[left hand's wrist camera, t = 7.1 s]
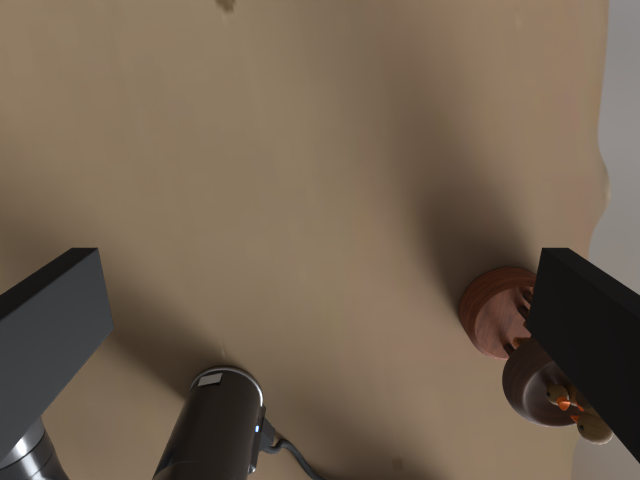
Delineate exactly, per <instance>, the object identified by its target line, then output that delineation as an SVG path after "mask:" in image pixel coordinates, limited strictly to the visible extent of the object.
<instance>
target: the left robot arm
mask: <svg viewBox="0 0 640 480" xmlns="http://www.w3.org/2000/svg"><path fill="white" fill-rule="evenodd" d="M113 329H114V326H113V321H112V316H111V311H110V306H109V301H108V296H107V291H106V286H105V281H104V276H103V271H102V266H101V261H100V256H99V251H98V248H71V249H69V250H68V251H66V252H65V253H63V254H62V255H60V256H59V257H57V258H56V259H54V260H53V261H51V262H50V263H48V264H47V265H45V266H44V267H42V268H41V269H39V270H38V271H36V272H35V273H33V274H32V275H30V276H29V277H27V278H26V279H24V280H23V281H21V282H20V283H18V284H17V285H15V286H14V287H12V288H11V289H9V290H8V291H6V292H5V293H3V294H2V295H0V463H1V462H2V461H3V460H4V459H5V457H6V456H7V455H8V454H9V453H10V451H11V450H12V449H13V448H14V447H15V446H16V444H17V443H18V442H19V441H20V440H21V438H22V437H23V436H24V435H25V434H26V432H27V431H28V430H29V429H30V428H31V426H32V425H33V424H34V423H35V422H36V421H37V419H38V418H39V417H40V416H41V415H42V413H43V412H44V411H45V410H46V409H47V407H48V406H49V405H50V404H51V403H52V401H53V400H54V399H55V398H56V397H57V396H58V394H59V393H60V392H61V391H62V390H63V388H64V387H65V386H66V385H67V384H68V382H69V381H70V380H71V379H72V378H73V376H74V375H75V374H76V373H77V372H78V371H79V369H80V368H81V367H82V366H83V365H84V363H85V362H86V361H87V360H88V359H89V357H90V356H91V355H92V354H93V353H94V352H95V350H96V349H97V348H98V347H99V346H100V344H101V343H102V342H103V341H104V340H105V338H106V337H107V336H108V335H109V334H110V332H111V331H112V330H113ZM526 329H527V330H528V331H529V332H530V334H531V335H532V336H533V337H534V338H535V340H536V341H537V342H538V343H539V344H540V346H541V347H542V348H543V349H544V350H545V352H546V353H547V354H548V355H549V356H550V357H551V359H552V360H553V361H554V362H555V363H556V365H557V366H558V367H559V368H560V369H561V371H562V372H563V373H564V374H565V375H566V376H567V378H568V379H569V380H570V381H571V382H572V384H573V385H574V386H575V387H576V388H577V390H578V391H579V392H580V393H581V394H582V396H583V397H584V398H585V399H586V400H587V401H588V403H589V404H590V405H591V406H592V407H593V409H594V410H595V411H596V412H597V413H598V415H599V416H600V417H601V418H602V419H603V421H604V422H605V423H606V424H607V425H608V426H609V428H610V429H611V430H612V431H613V432H614V434H615V435H616V436H617V437H618V438H619V440H620V441H621V442H622V443H623V444H624V446H625V447H626V448H627V449H628V450H629V451H630V453H631V454H632V455H633V456H634V457H635V459H636V460H637V461H638V462H639V463H640V295H638V294H637V293H635V292H634V291H632V290H631V289H629V288H628V287H626V286H625V285H623V284H622V283H620V282H619V281H617V280H616V279H614V278H613V277H611V276H610V275H608V274H607V273H605V272H604V271H602V270H601V269H599V268H598V267H596V266H595V265H593V264H592V263H590V262H589V261H587V260H586V259H584V258H583V257H581V256H580V255H578V254H577V253H575V252H574V251H572V250H571V249H569V248H542V251H541V256H540V261H539V266H538V271H537V276H536V281H535V286H534V291H533V296H532V301H531V306H530V311H529V316H528V321H527V326H526Z"/></svg>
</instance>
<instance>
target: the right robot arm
mask: <svg viewBox="0 0 640 480" xmlns="http://www.w3.org/2000/svg"><path fill="white" fill-rule="evenodd" d="M262 401H263V394H262V390H261V387H260V385H259V384H258V382H257V381H256V380H255V379H254V377H252V376H251V375H250V374H249V373H247V372H245V371H243V370H241V369H238V368H235V367H230V366H217V367H212V368H209V369H207V370H205V371H203V372H201V373H200V374H199V375H198V376H197V377H196V378H195V379H194V381H193V382H192V385H191V387H190V390H189V394H188V396H187V399H186V401H185V403H184V405H183V408H182V410H181V412H180V415H179V417H178V419H177V422H176V424H175V426H174V429H173V431H172V434H171V436H170V438H169V441H168V443H167V445H166V448H165V450H164V452H163V455H162V457H161V460H160V462H159V464H158V467H157V469H156V471H155V474H154V476H153V478H152V480H247V478H248V475H249V474H251V473H253V472H254V471H255V469H256V465H257V459H258V453H259V451H261V450H262V451H264V452H266V453H270V454H275V453H278V452H279V451H280V449H281V448H282V447H285V448H287V449H288V450H290V451H291V452H292V453H293V455H294V456H295V458H296V459H297V461H298V462H299V464H300V465H301V467H302V468H303V469H304V471H305V472H306V473H307V474H308V475H309V476H310V477H311V478H312V479H313V480H327V479H324V478H323V477H321V476H319V475H318V474H316V473H315V472H314V471H313V470H312V469H311V468H310V467H309V465H308V464H307V463H306V461H305V460H304V458H303V457H302V455H301V454H300V453H299V452H298V450H297V449H296V448H295V447H294V446H293V444H291V443H290V442H288V441H286V440H279V441H278V442H277V444H276V445H275V446H274V447H273V446H271V445H273V441H274V433H275V428H274V427H273V426H272V425H271V424H270V423H269V422H268V421H267V420H266V418H265V411H266V407H265V406H264V405H263V404H262ZM0 480H70V479H69V478H68V476H67V475H66V473H65V472H64V470H63V468H62V466H61V464H60V462H59V459H58V457H57V454H56V451H55V448H54V446H53V444H52V442H51V440H50V438H49V436H48V434H47V432H46V429H45V427H44V425H43V422H42V418H41V416H40V417H39V418H38V419H37V421H36V422H35V423H34V424H33V425H32V426H31V428H30V429H29V430H28V431H27V432H26V434H25V435H24V436H23V437H22V438H21V440H20V441H19V442H18V443H17V444H16V446H15V447H14V448H13V449H12V450H11V451H10V453H9V454H8V455H7V456H6V457H5V459H4V460H3V461H2V462H1V463H0Z"/></svg>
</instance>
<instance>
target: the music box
mask: <svg viewBox="0 0 640 480" xmlns="http://www.w3.org/2000/svg"><path fill="white" fill-rule="evenodd" d="M535 281H536V275H535V274H533V273H532V272H530V271H528V270H525V269H522V268H516V267H504V268H499V269H495V270H492V271H489V272H487V273H485V274H483V275H482V276H480V277H479V278H477V279H476V280H475V281H474V282H473V283H472V284H471V285H470V286H469V287H468V288H467V290H466V291H465V293H464V294H463V296H462V299H461V302H460V306H459V318H460V322H461V324H462V326H463V328H464V330H465V332H466V333H467V335H468V337H469V338H470V340H471V342H472V343H473V345H474V346H475V347H476V348H477V349H478V350H479V351H480V352H481V353H483V354H485V355H487V356H489V357H491V358H495V359H500V360H507V362H506V364H505V367H504V370H503V376H502V384H503V390H504V393H505V396H506V398H507V400H508V402H509V404H510V405H511V406H512V408H513V409H514V410H515V411H516V412H517V413H518V414H519V415H521V416H522V417H523V418H525V419H527V420H528V421H530V422H533V423H535V424H538V425H542V426H547V427H565V426H571V425H574V424H577V428H578V431H579V433H580V434H581V436H582V437H583V438H584V439H586V440H587V441H589V442H591V443H594V444H605V443H607V442H608V441H610V440H611V438H612V436H613V431H612V430H611V429H610V428H609V426H608V425H607V424H606V423H605V422H604V421H603V419H602V418H601V417H600V416H599V415H598V413H597V412H596V411H595V410H594V409H593V407H592V406H591V405H590V404H589V403H588V401H587V400H586V399H585V398H584V397H583V396H582V394H581V393H580V392H579V391H578V390H577V388H576V387H575V386H574V385H573V384H572V382H571V381H570V380H569V379H568V378H567V376H566V375H565V374H564V373H563V372H562V371H561V369H560V368H559V367H558V366H557V365H556V363H555V362H554V361H553V360H552V359H551V357H550V356H549V355H548V354H547V353H546V352H545V350H544V349H543V348H542V347H541V346H540V344H539V343H538V342H537V341H536V340H535V338H534V337H533V336H532V335H531V334H530V332H529V331H528V330H527V329H526V326H527V321H528V316H529V311H530V306H531V301H532V296H533V291H534V286H535Z"/></svg>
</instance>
